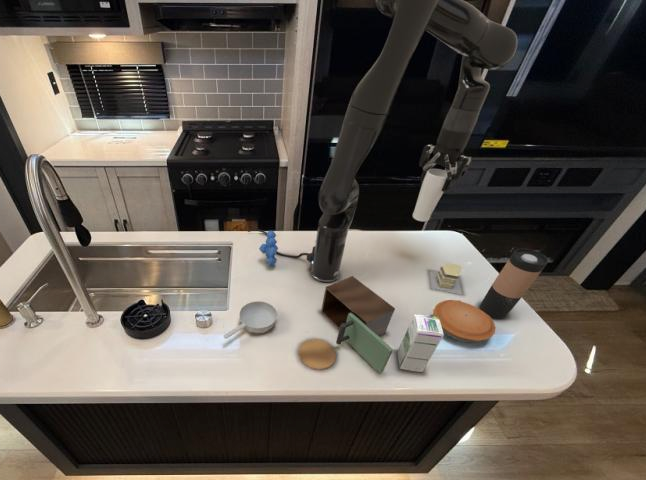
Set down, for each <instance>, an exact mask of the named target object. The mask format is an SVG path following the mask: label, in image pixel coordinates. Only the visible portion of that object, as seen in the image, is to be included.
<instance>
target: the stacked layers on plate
mask: <svg viewBox="0 0 646 480" xmlns="http://www.w3.org/2000/svg"><path fill="white" fill-rule="evenodd" d="M462 270H463V269H462V267H461V266H460V265H458V264H456V263H442V264H441V267H440V268H439V271H438V272H437V271H430V270H429V277H430V286H431V289H432V290H436V291H441V292H447V293H450V294H451V293H452V294H458V295H463V294H462V288H461V284H460V280H459V277H460V275H461V273H462Z"/></svg>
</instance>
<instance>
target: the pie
mask: <svg viewBox="0 0 646 480" xmlns="http://www.w3.org/2000/svg"><path fill="white" fill-rule="evenodd" d="M432 311H433V316H434V317H439V320H440V323H441V327H442V330H443V333H444V335H446V336H447V337H448V338H450V339H452V340H455V341H457V342H461V343H475V342H479V341H485V340H489V339H491V338H492V337H493V336H494V335H495V334H496V324H495V321H494V319H493V318H491V317H490V316H489V315H487V314H486V313H485V312H483V311H482V310H480V309H479V307H477V306H475V305H473V304H470V303H469V302H468V303H467V302H465V301H462V300H455V299H448V300H447V299H446V300H442V301H440V302H438V303H437V304H436V305H435V306H434V308H433V310H432Z"/></svg>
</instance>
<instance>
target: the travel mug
mask: <svg viewBox="0 0 646 480" xmlns="http://www.w3.org/2000/svg"><path fill="white" fill-rule="evenodd" d="M548 263H549V259H548V258H547V256H546V255H544V254H543V253H542V252H539V251H537V250H533V249H529V248H517V249H515V250H514V251H513V253H512V254H511V256H510V257H509V259H508V260H507V262H506V263H505V265H503V267H502V269H501V271H500V272H499V274H497V276H496V278H495V279H494V281H493V283H492V284H491V285H490V287H489V289H488V290H487V292H486V294H485V295H484V297H483V299H482V301H481V302H480V304H479V306H478V308H479V309H480V310H482V311H483V312H485V313H486V314H487V315H489V316H490V317H491V319H492V320H503V319H505V318H507V316H508V315H509V314H510V312H511V311H512V310H513V309H514V307H516V305H517V304H518V303H519V301H520V300H521V299H522V298H523V297H524V295H525V294H526V293H527V291H528V290H529V289H530V288H531V286H532V285H533V283H534V282H535V281H536V280H537V278H538V277H539V276H540V275H541V273H542V272H543V270H544V269H545V267H547V265H548Z"/></svg>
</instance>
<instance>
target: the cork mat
mask: <svg viewBox="0 0 646 480" xmlns="http://www.w3.org/2000/svg"><path fill="white" fill-rule="evenodd" d="M298 357H299V359H300V361H301V362H302V364H304V365H305V366H306V367H308V368H310V369H313V370H326V369H329V368H330V367H332V366H333V365H334V363H335V361H336V358H337V355H336V351H335V349H334V348H333V346H332V345H331V344H329V343H328V342H326V341H325V340H322V339H309V340H308V339H307V340H306V341H304V342H303V343H302V344H301V345H300V346H299V349H298Z"/></svg>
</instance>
